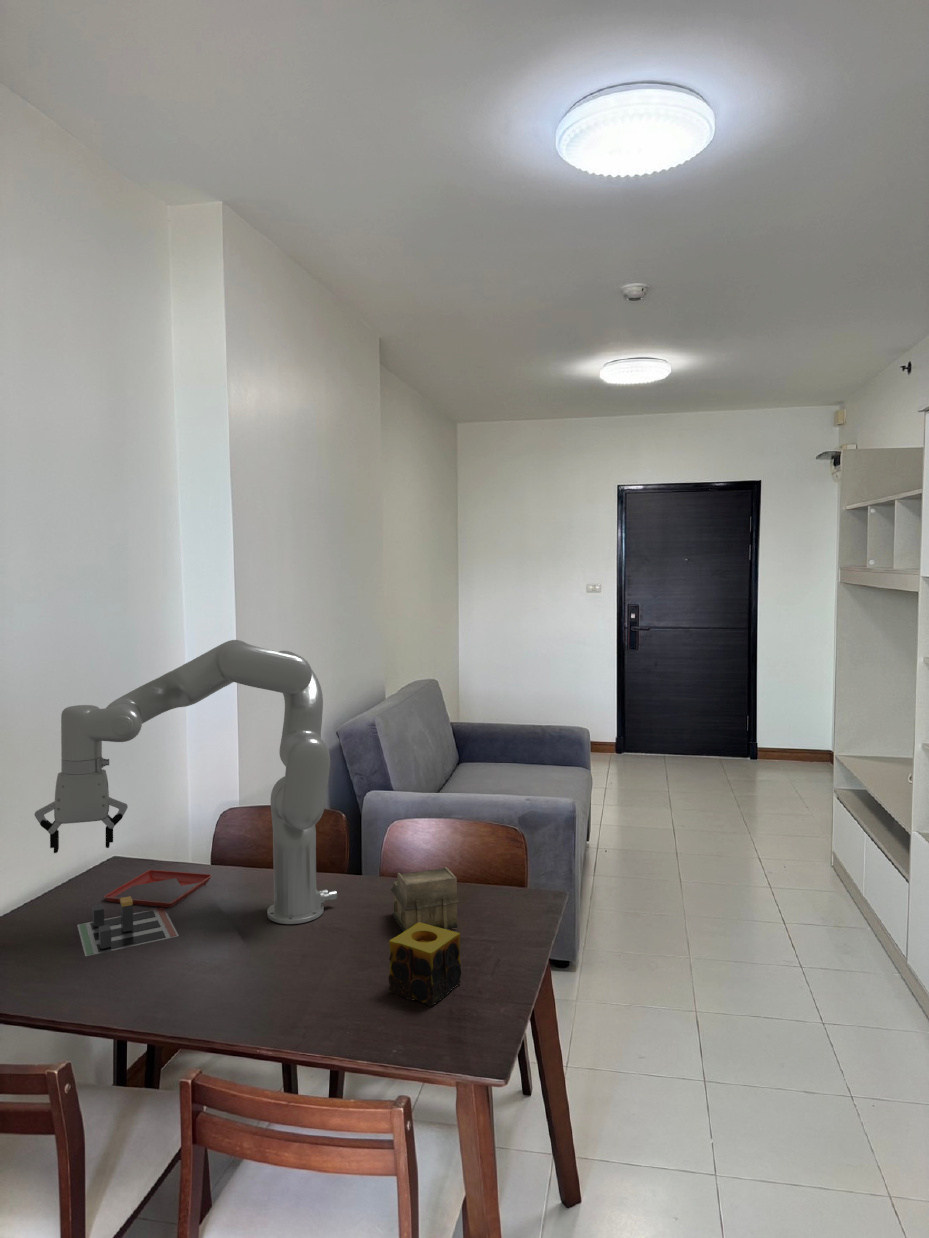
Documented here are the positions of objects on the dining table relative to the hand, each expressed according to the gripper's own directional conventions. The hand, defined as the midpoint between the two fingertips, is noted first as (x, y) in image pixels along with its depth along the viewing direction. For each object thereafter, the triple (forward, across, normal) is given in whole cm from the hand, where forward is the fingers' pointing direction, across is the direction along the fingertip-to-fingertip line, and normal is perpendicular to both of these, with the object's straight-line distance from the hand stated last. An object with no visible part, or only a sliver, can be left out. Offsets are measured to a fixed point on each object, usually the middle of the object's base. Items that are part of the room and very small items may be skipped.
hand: (82, 848), depth 169 cm
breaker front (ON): (+20, -4, +4) cm, 20 cm away
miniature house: (+20, -71, +14) cm, 75 cm away
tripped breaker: (+20, -8, -3) cm, 21 cm away
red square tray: (+21, -16, -23) cm, 35 cm away
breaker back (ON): (+20, -3, -8) cm, 21 cm away
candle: (+20, -60, +42) cm, 76 cm away
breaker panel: (+21, -8, -3) cm, 23 cm away
